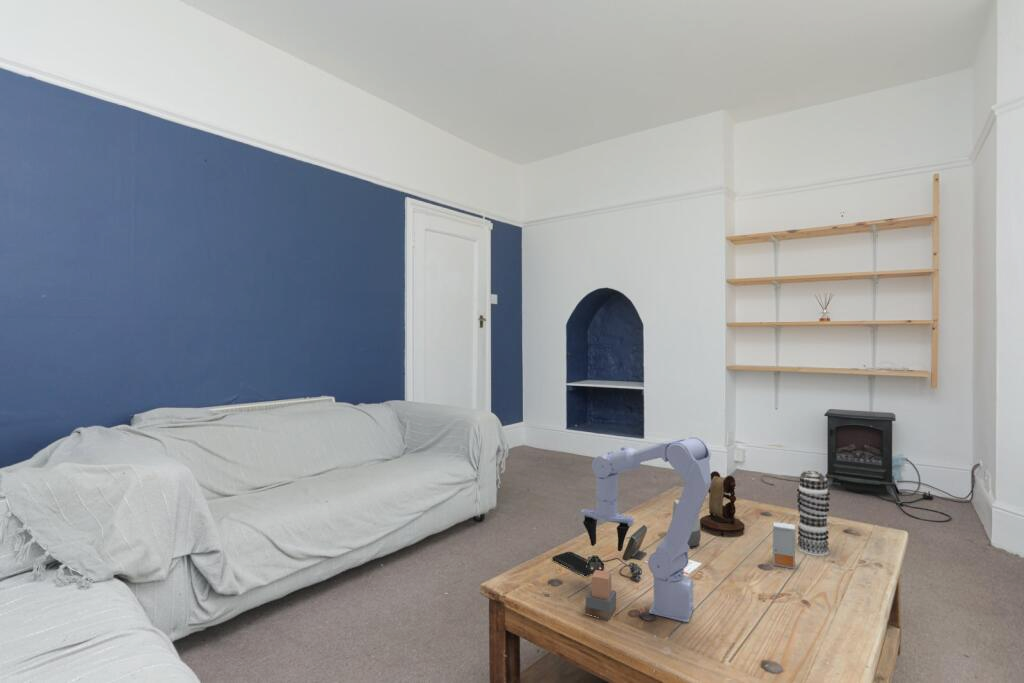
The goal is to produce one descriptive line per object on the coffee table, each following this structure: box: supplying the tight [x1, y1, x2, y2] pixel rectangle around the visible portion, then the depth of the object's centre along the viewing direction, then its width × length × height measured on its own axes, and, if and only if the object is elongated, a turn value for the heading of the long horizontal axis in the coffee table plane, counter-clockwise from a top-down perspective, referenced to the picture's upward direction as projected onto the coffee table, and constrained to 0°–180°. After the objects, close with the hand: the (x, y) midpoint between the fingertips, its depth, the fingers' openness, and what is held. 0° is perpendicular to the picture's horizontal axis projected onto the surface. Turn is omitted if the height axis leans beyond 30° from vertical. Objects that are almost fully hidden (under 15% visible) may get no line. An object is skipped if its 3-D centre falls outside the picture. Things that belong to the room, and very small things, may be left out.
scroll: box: [699, 470, 746, 537], centre depth 187 cm, size 15×15×20 cm
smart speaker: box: [671, 499, 702, 548], centre depth 175 cm, size 10×9×14 cm
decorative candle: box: [796, 470, 831, 557], centre depth 168 cm, size 9×9×25 cm
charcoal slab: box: [585, 588, 617, 612], centre depth 132 cm, size 6×6×2 cm
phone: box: [551, 551, 595, 577], centre depth 159 cm, size 8×1×15 cm
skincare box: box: [772, 521, 797, 570], centre depth 158 cm, size 6×4×12 cm
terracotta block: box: [591, 570, 612, 599], centre depth 131 cm, size 4×4×5 cm
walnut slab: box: [584, 601, 617, 621], centre depth 132 cm, size 6×6×2 cm
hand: (606, 547), depth 146 cm, fingers open, 7 cm apart
